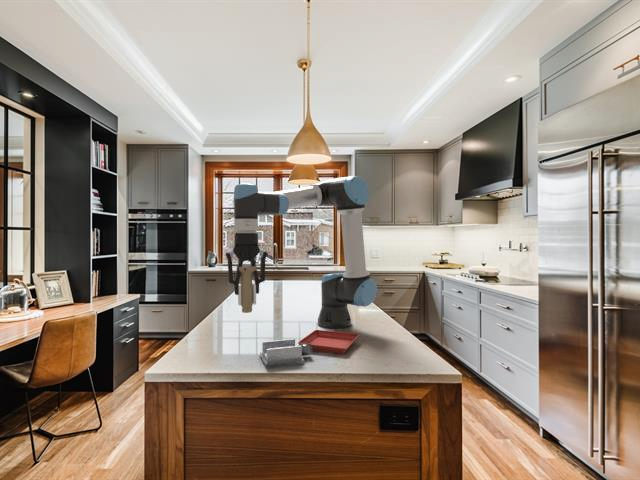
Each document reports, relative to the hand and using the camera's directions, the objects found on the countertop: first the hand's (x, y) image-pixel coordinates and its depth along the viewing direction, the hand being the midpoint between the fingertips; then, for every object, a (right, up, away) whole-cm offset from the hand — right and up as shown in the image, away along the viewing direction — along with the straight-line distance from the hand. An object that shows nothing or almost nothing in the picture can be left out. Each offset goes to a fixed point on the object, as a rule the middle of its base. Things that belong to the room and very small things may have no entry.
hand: (247, 304), depth 120 cm
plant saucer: (+27, -19, +15) cm, 36 cm away
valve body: (+13, -18, +1) cm, 22 cm away
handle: (0, -3, 0) cm, 3 cm away
